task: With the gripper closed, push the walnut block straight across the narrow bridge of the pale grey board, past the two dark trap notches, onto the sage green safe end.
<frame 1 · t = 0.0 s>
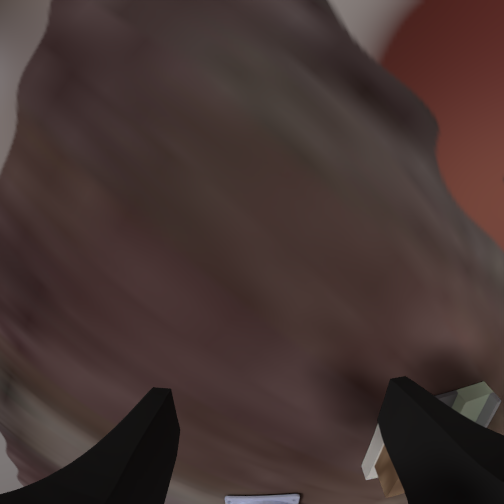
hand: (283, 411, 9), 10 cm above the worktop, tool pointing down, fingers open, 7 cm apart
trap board: (425, 427, 23), on the worktop
walnut block: (399, 449, 21), point 2 cm above the worktop, touching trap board
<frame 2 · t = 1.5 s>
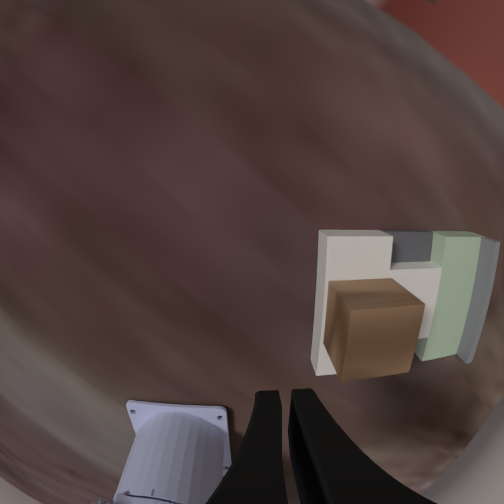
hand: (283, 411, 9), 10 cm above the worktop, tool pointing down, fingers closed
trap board: (398, 295, 19), on the worktop
walnut block: (357, 311, 17), point 2 cm above the worktop, touching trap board
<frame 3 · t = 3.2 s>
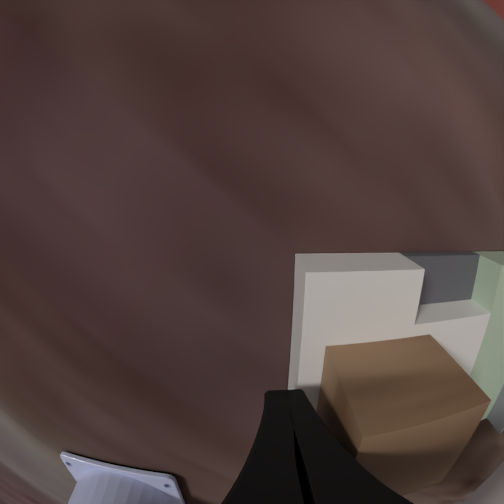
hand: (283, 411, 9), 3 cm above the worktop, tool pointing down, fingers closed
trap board: (419, 349, 12), on the worktop
walnut block: (371, 386, 10), point 2 cm above the worktop, touching gripper, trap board
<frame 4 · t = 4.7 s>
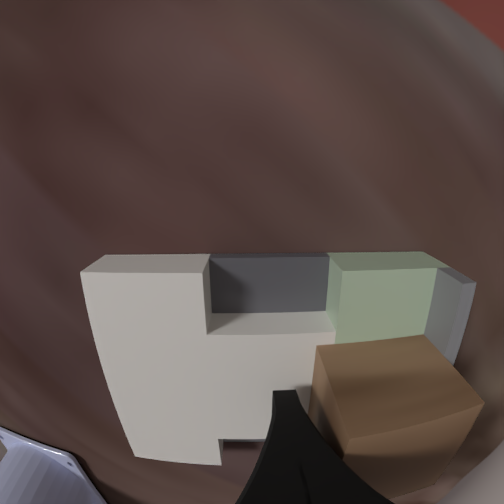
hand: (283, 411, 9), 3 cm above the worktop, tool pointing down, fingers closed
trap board: (267, 362, 12), on the worktop
walnut block: (364, 386, 10), point 2 cm above the worktop, touching gripper, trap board
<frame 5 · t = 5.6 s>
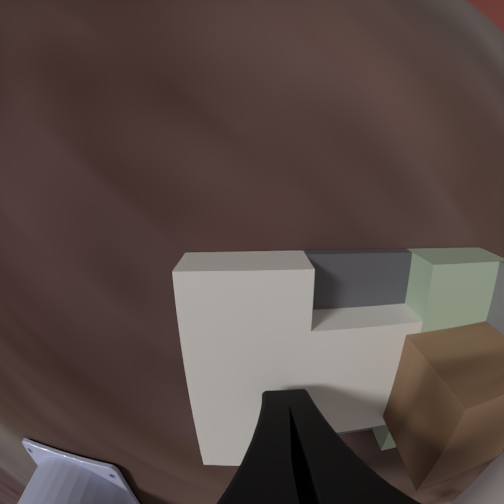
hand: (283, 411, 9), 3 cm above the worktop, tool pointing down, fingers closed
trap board: (345, 356, 12), on the worktop
walnut block: (436, 371, 10), point 2 cm above the worktop, touching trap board
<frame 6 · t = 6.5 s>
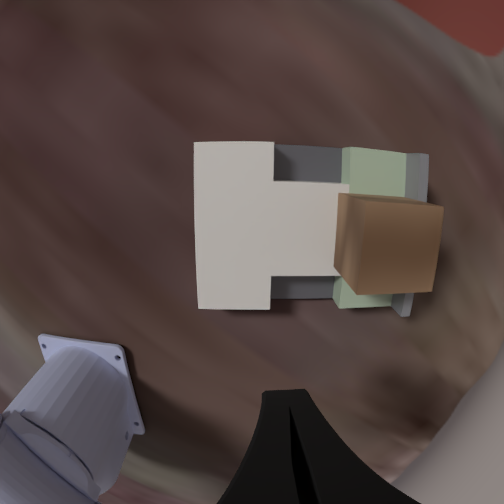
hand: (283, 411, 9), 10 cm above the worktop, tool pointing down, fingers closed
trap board: (303, 223, 18), on the worktop
walnut block: (370, 231, 16), point 2 cm above the worktop, touching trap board
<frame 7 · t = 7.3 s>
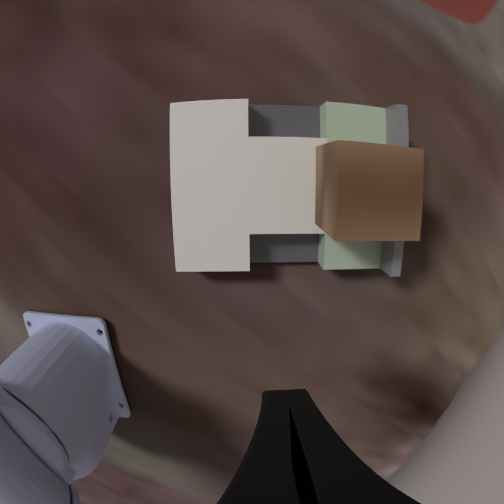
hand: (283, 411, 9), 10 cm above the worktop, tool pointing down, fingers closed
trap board: (284, 183, 17), on the worktop
walnut block: (352, 186, 15), point 2 cm above the worktop, touching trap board
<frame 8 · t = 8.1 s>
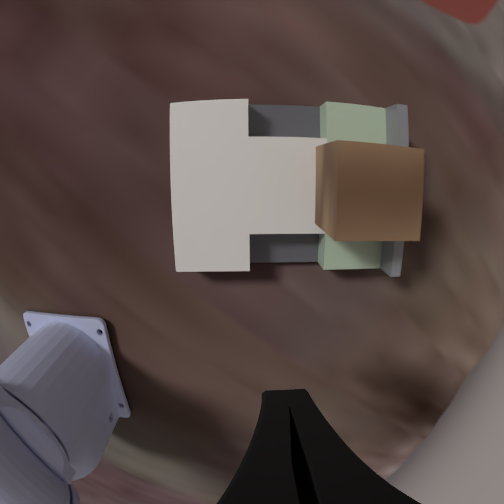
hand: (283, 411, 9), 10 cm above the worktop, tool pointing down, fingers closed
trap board: (284, 183, 17), on the worktop
walnut block: (352, 186, 15), point 2 cm above the worktop, touching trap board
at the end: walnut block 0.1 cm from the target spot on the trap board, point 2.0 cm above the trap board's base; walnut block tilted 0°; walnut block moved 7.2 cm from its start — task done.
